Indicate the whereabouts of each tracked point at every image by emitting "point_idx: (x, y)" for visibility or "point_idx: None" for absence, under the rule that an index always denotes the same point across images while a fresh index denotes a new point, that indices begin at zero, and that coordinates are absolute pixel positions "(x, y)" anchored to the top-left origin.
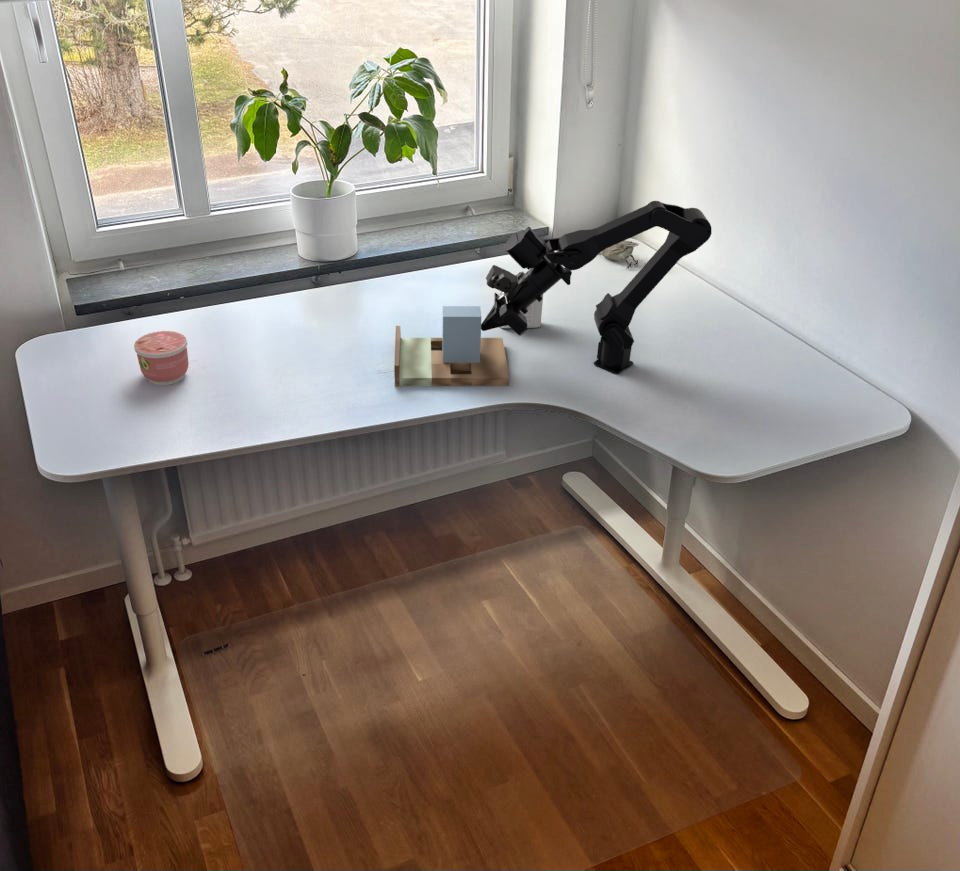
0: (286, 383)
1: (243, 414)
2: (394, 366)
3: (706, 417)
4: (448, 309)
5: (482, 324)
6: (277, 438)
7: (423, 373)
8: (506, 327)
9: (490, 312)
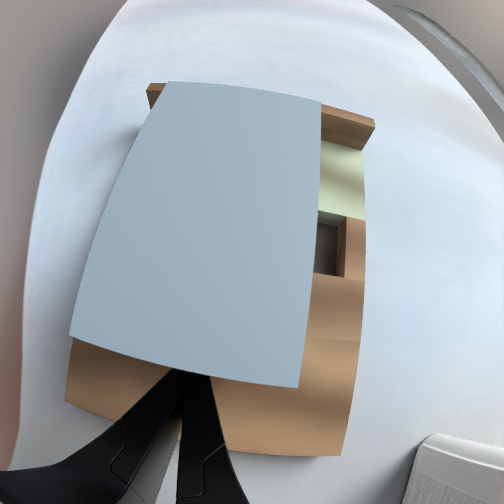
0: (227, 27)
1: (169, 12)
2: (151, 85)
3: None
4: (267, 115)
5: (184, 374)
6: (105, 34)
7: None
8: (416, 456)
9: (192, 457)
